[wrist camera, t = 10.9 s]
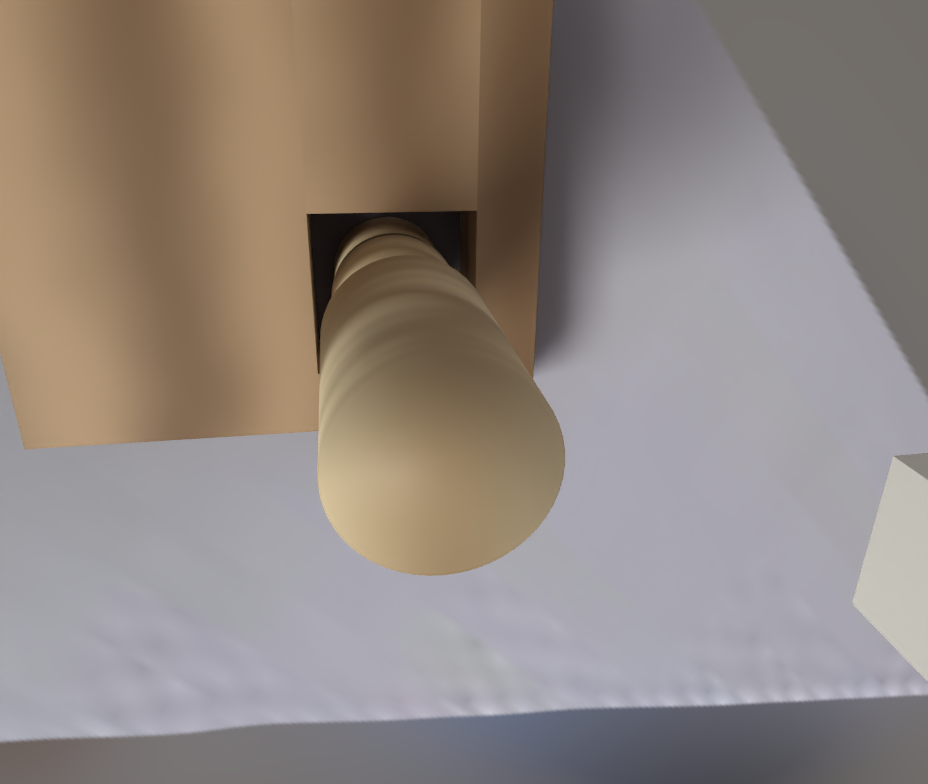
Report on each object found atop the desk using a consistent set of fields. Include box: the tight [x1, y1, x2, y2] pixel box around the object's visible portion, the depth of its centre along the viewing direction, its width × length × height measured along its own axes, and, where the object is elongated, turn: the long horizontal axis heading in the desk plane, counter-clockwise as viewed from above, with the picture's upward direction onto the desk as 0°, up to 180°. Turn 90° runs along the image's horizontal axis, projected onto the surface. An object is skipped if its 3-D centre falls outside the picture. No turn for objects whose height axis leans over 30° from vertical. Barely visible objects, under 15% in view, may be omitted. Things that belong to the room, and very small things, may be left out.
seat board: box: [0, 0, 553, 449], centre depth 23 cm, size 16×13×3 cm
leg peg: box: [318, 217, 565, 576], centre depth 20 cm, size 4×4×14 cm
